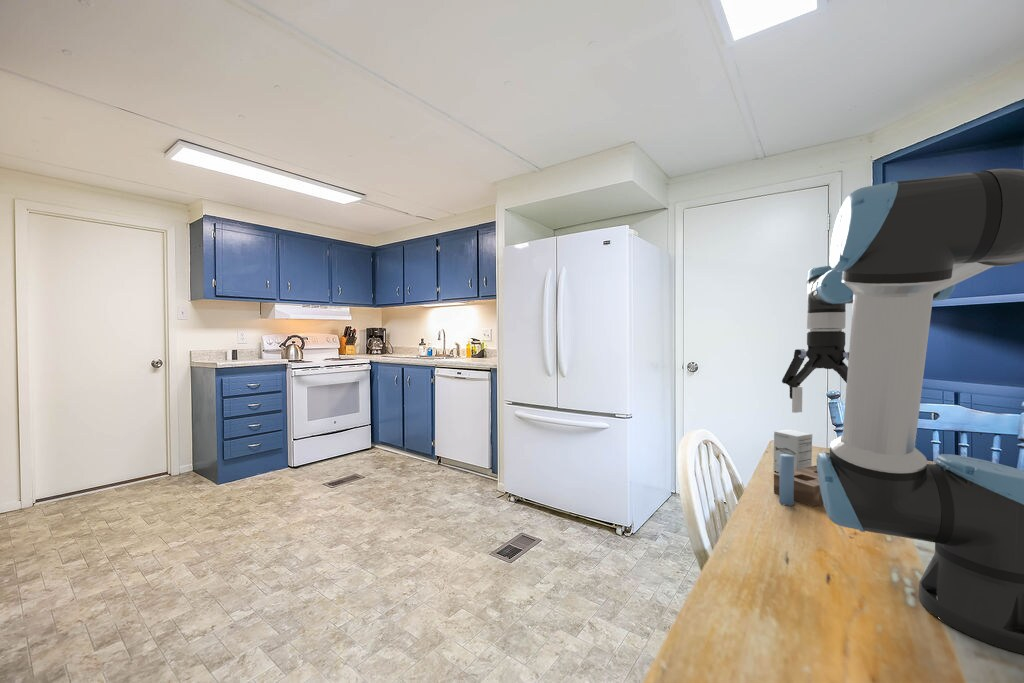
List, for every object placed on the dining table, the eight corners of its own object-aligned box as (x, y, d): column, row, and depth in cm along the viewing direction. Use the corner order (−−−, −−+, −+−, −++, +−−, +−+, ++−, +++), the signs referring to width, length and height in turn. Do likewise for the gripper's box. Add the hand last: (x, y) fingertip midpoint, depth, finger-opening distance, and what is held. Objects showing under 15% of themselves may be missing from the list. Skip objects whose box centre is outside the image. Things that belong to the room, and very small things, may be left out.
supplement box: (772, 471, 129) (772, 430, 128) (787, 468, 132) (787, 428, 132) (797, 479, 122) (797, 436, 122) (812, 475, 125) (813, 433, 125)
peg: (788, 506, 103) (788, 458, 102) (776, 502, 105) (776, 454, 105) (796, 504, 104) (796, 456, 103) (784, 500, 106) (784, 453, 106)
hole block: (813, 506, 102) (813, 486, 102) (773, 492, 112) (774, 473, 112) (856, 495, 110) (856, 476, 109) (816, 482, 119) (816, 465, 119)
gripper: (897, 330, 91) (895, 426, 92) (786, 330, 115) (786, 407, 115) (876, 330, 89) (874, 429, 89) (767, 330, 112) (766, 409, 113)
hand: (824, 417), depth 102 cm, fingers open, 13 cm apart
